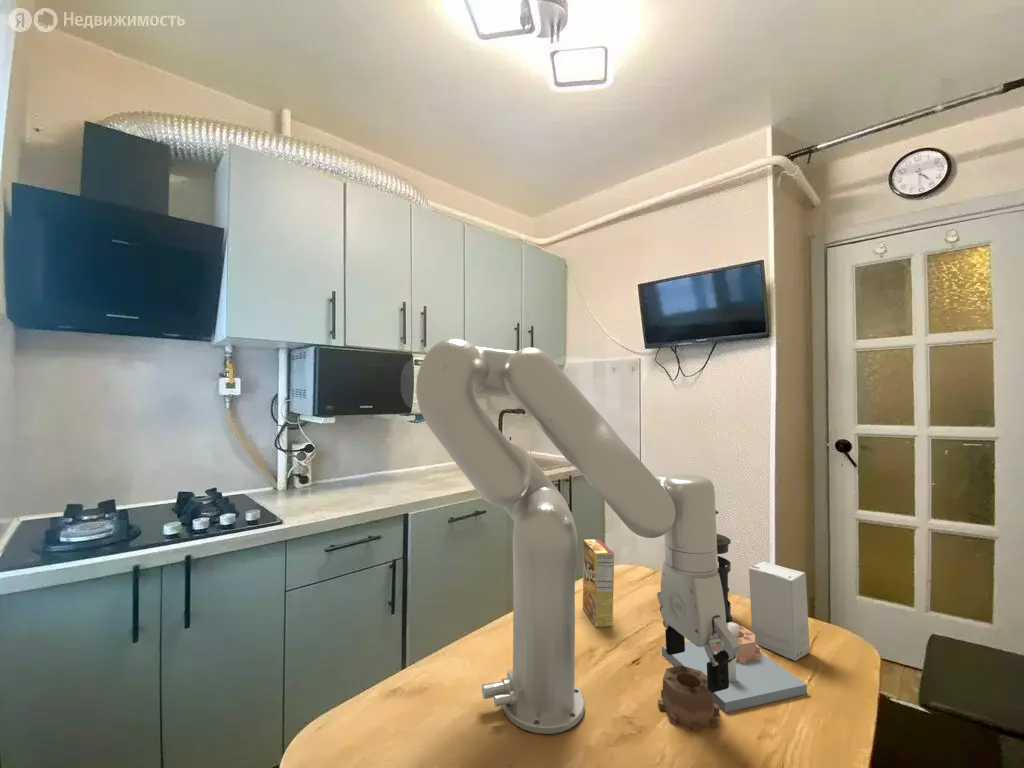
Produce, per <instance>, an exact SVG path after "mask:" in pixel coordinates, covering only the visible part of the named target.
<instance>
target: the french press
mask: <svg viewBox="0 0 1024 768" xmlns="http://www.w3.org/2000/svg"><path fill="white" fill-rule="evenodd" d="M715 512H716V515H719V511H718V510H717V509H715ZM716 535H717V558H718V571H717V572H718V573H719V576H720V580H721V585H722V590H723V597H724V604H725V613H726V623H729V622H733V617H732V613H731V611H732V610H731V607H732V606H731V602H730V601H729V592H730V588H729V573H730V572H731V567H732V566H731V561H730V560H728V559H727V558H724V557H723V556H720V555H721V554H722V555H723V554H727V553H728V552H729V545H730V544H731V538H729V537H728V536H725V535H722V534H720V533H716Z"/></svg>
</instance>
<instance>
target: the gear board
mask: <svg viewBox="0 0 1024 768" xmlns="http://www.w3.org/2000/svg"><path fill="white" fill-rule="evenodd" d="M726 627H727V628H728V629H729V630H730V632H731V633H732V634H733V636H734V637H735V638H736V640H737V641H738V643H739V649H738V651H737V653H736V658H735V659H733V660H732V661H731V662H730V663H728V673H729V688H728V689H725V690H721V691H717V692H714V704H717V705H718V707H719V709H720V710H721V711H722V712H724V713H729V712H733V711H738V710H742V709H747V708H750V707H751V708H752V707H754V706H755V707H756V706H759V705H765V704H769V703H773V702H776V701H777V702H778V701H781V700H786V699H790V698H791V699H792V698H795V697H798V696H803V695H808V685H807V683H806V682H804V681H802V680H801V679H800V678H798V677H796V676H795V675H794V674H793V673H791V672H789V671H788V670H787V669H785V668H783V667H782V666H780V665H779V664H778V663H777V662H775V661H773V660H772V659H771V658H769V657H768V656H766V655H765V654H763V653H761V652H760V651H761V646H760V645H757V644H755V634H754V633H752V630H751V631H750V630H749V629H748V628H746V627H744V626H743V625H739V624H738V623H736V622H733V621H731V622H729V623H726ZM710 639H713V637H712V636H711V638H710ZM711 646H712V648H713V650H714V652H715V655H716V654H717V653H719V652H720V651H719V649H718V646H717V644H713V645H711ZM661 655H662V656H663V657H664V658H665V659H667V661H669V662H670V664H672V665H673V667H677V666H685V667H689V668H693V669H696V670H700V671H702V672H703V673H704V674H705V675H707V662H710V660H709V658H708V656H707V653H706V651H705V649H704V646H703V647H698V646H696V645H694V644H693V643H692V642H690V641H689V640H687V641H685V652H682V653H678V654H673V655H669V654H667V652H666V644H665V645H661Z"/></svg>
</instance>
